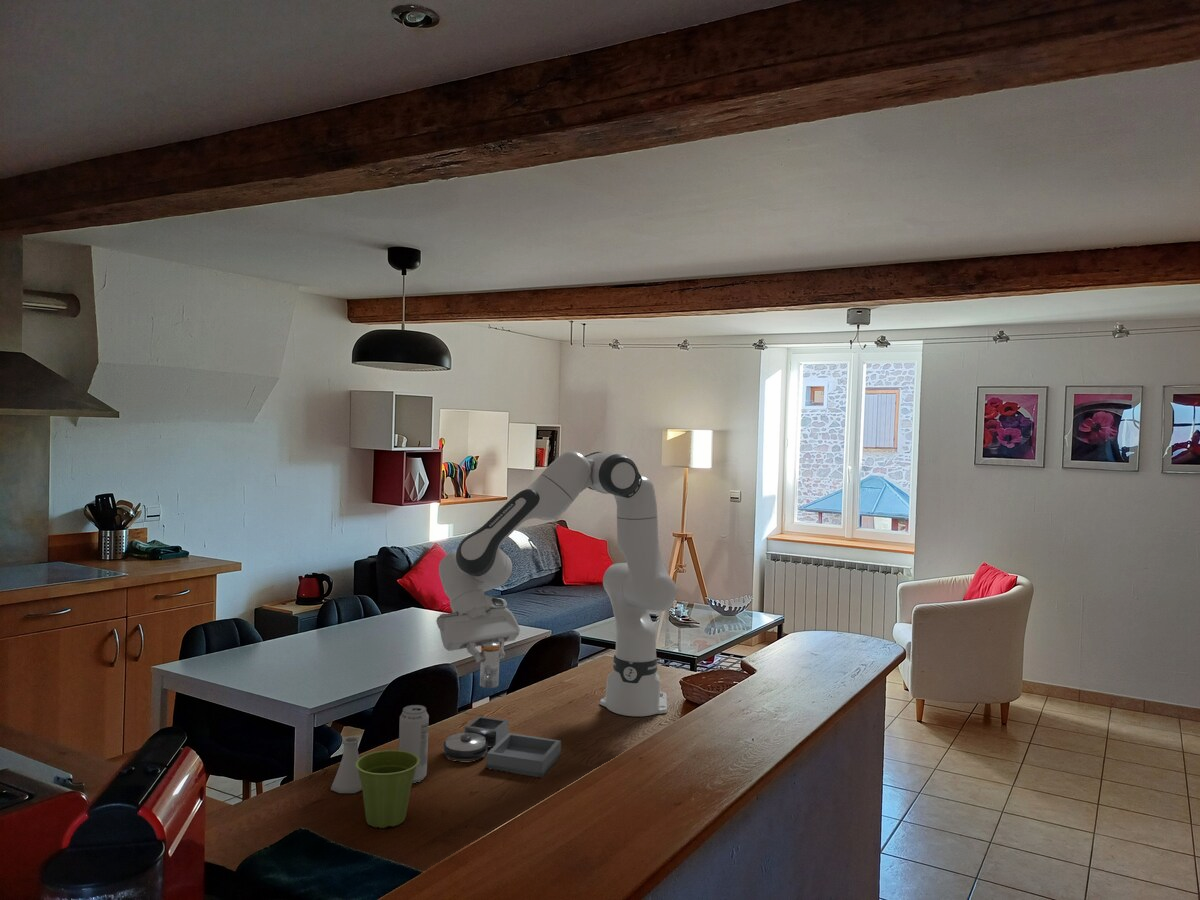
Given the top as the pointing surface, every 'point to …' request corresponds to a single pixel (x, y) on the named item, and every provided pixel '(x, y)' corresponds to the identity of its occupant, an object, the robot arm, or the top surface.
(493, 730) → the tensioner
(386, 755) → the plant pot
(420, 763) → the energy drink can
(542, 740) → the tray
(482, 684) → the glass shaker
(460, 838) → the top surface
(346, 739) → the flask
